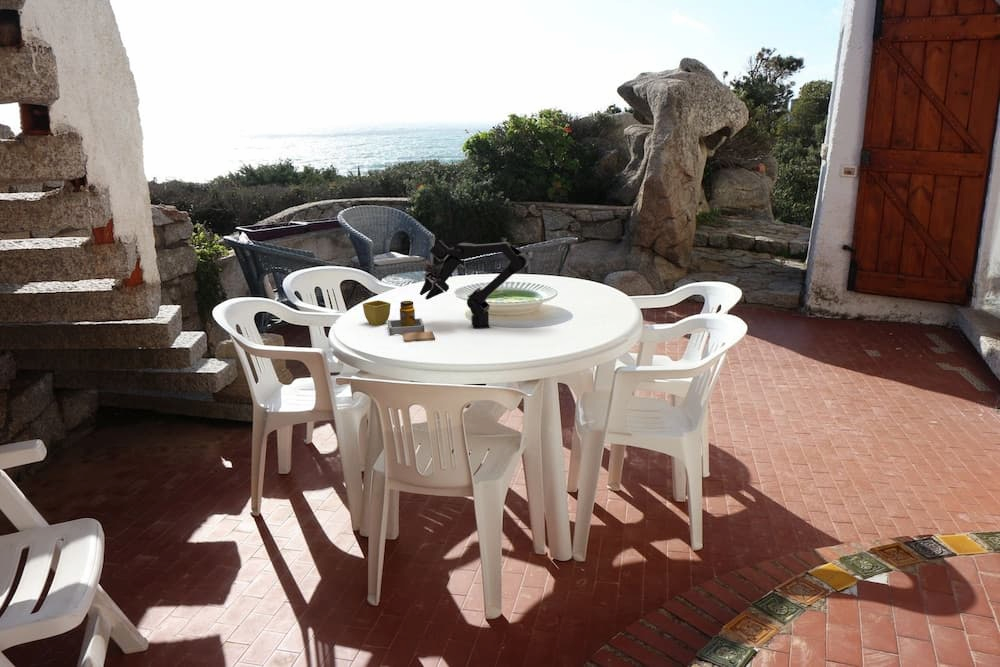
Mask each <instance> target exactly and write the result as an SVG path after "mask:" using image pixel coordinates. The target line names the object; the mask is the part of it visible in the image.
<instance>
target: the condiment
mask: <svg viewBox="0 0 1000 667" xmlns="http://www.w3.org/2000/svg"><path fill="white" fill-rule="evenodd" d="M415 312H416V310H415V307H414V302H413V301H412V300H402V301H400V308H399V320H400V324H401V327H407V326H415V319H416V318H415V317H416V313H415Z"/></svg>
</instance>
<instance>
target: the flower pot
mask: <svg viewBox="0 0 1000 667" xmlns="http://www.w3.org/2000/svg"><path fill="white" fill-rule="evenodd" d="M391 304H392V303H391V302H387V301H384V300H379V299H378V300H373V301H368V302H364V303H362V308H363V314H364V317H365V318H366V321H367V322H368V323H369V324H370V323H371V324H372V325H373V326H380V325H383V323H384V324H386V323H388V319H389V318H390V313H391ZM371 324H370V325H371ZM379 324H380V325H379Z"/></svg>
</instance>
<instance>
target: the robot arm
mask: <svg viewBox="0 0 1000 667" xmlns="http://www.w3.org/2000/svg"><path fill="white" fill-rule="evenodd" d="M429 253H430V254H431V255H432V256H433V257H434V258H435V259H437V260H438V261H439V262H441V261H442V262H443V263H442V264H438V265H437V264H435V263H431V264H430V263H428V262H424V264H423V266H422V268H421V269H422V270H423V272H425V273H424V275H423V278H424V283H423V285H422V287H421V290H420V292H419V295H420V296H423V295H425V294H426V296H425V297H424V299H425V300H430V299H432V298H433V297H436V296H439V295H440V294H445V293H447V292H448V291H449V289H450V285H449V284H448V283H447V281H448V279H449V278H452V277H453V276H454V275H453V273H455V271H456V270H457V269H458V268H459V267H460V266H461V267H462V268H465V267H466V266H465V263H466V260H465V259H464V258H468V257H472V256H476V255H486V254H488V255H489V254H498V253H499V254H500V253H502V254H503V255H504V256H505V257H506V259H507V260H508V261H510V262H509V263H508V265H507V267H506V268H505V269H504V270H503V271H502V272H500V273H499V274H498V275H497V276H496V277H494V279H493V280H491V281H490V282H489V283H488V284H487V285H486V286H485V287H484V288H482V289H481V288H480V287H478V288H476V289H475V290H474V291H473V292H472V293H471V294H470V295H468V298H467V300H466V305H467V307H468V308H469V310H470V312H471V314H472V315H471V321H470V322H471V324H470V325H471V326H472V327H473V329H485V328H486V327H488V328H490V327H491V326H490V318H489V309H490V306H491V305H490V304H489V303H488V302H487V300H488V299H489V297H490V296H491V295H492V293H494V292H495V291H496V290H497V289H498V288H499V287H500V286H502V285H503V284H504V282H507V280H508V279H510V278H511V277H512V276H513V275H514V274H516V273H518V272H520V271H521V270H523V269H524V268H526V267H527V266H528V265H529V264H530V262H531V261H530V256H529V255H528V254H527V253H526V252H525V253H524V252H523V251H521V250H519V249H518V248H517V247H515V246H513V245H512V244H511V243H510V242H508V241H503V242H494V243H493V242H492V243H480V244H477V243H470V242H461V243H458V244H456V245H455V246H453V247H448V246H447V245H446V244H445V243H444V242H443V240H438V241H437V242H436V243H435V244H434V245H433V246H432V247H431V248H430V250H429ZM486 329H487V328H486Z"/></svg>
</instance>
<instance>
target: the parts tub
mask: <svg viewBox="0 0 1000 667" xmlns="http://www.w3.org/2000/svg"><path fill="white" fill-rule="evenodd" d="M387 328H389V329H388V333H390V334H389V336H396V335H395V334H403V333H412V332H426V331H425V324H424V322H423V319H422V317H420V318H415V326H407V327H401V324H400V319H390V320H387Z"/></svg>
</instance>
